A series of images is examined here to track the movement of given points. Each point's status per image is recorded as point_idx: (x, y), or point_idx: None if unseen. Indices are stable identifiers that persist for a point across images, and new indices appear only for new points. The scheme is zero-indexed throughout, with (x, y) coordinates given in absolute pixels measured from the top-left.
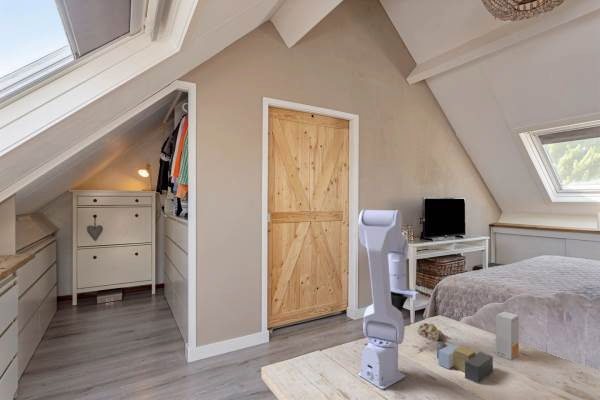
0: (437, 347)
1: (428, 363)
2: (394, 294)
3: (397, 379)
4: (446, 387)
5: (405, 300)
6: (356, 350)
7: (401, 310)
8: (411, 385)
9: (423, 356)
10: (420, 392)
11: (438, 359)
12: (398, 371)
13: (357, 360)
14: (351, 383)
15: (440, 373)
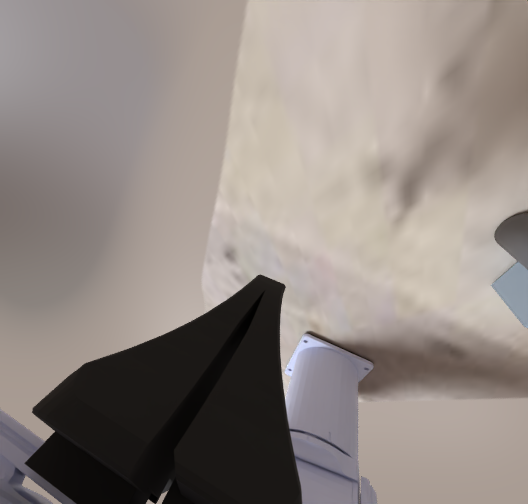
0: (525, 266)
1: (443, 285)
2: (149, 492)
3: (359, 380)
4: (495, 379)
5: (285, 435)
6: (232, 294)
7: (279, 317)
8: (392, 381)
9: (422, 245)
10: (415, 396)
11: (501, 297)
12: (354, 357)
13: None
14: (287, 385)
15: (487, 327)
